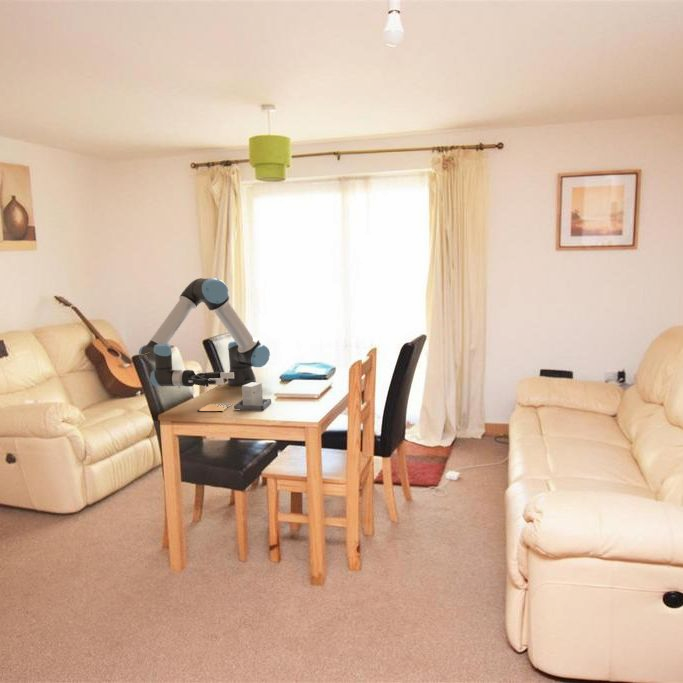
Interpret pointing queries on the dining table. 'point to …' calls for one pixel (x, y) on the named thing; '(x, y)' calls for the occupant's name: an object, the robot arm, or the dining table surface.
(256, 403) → the small box
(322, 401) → the dining table surface
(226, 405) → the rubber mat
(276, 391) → the dining table surface
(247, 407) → the holding frame
